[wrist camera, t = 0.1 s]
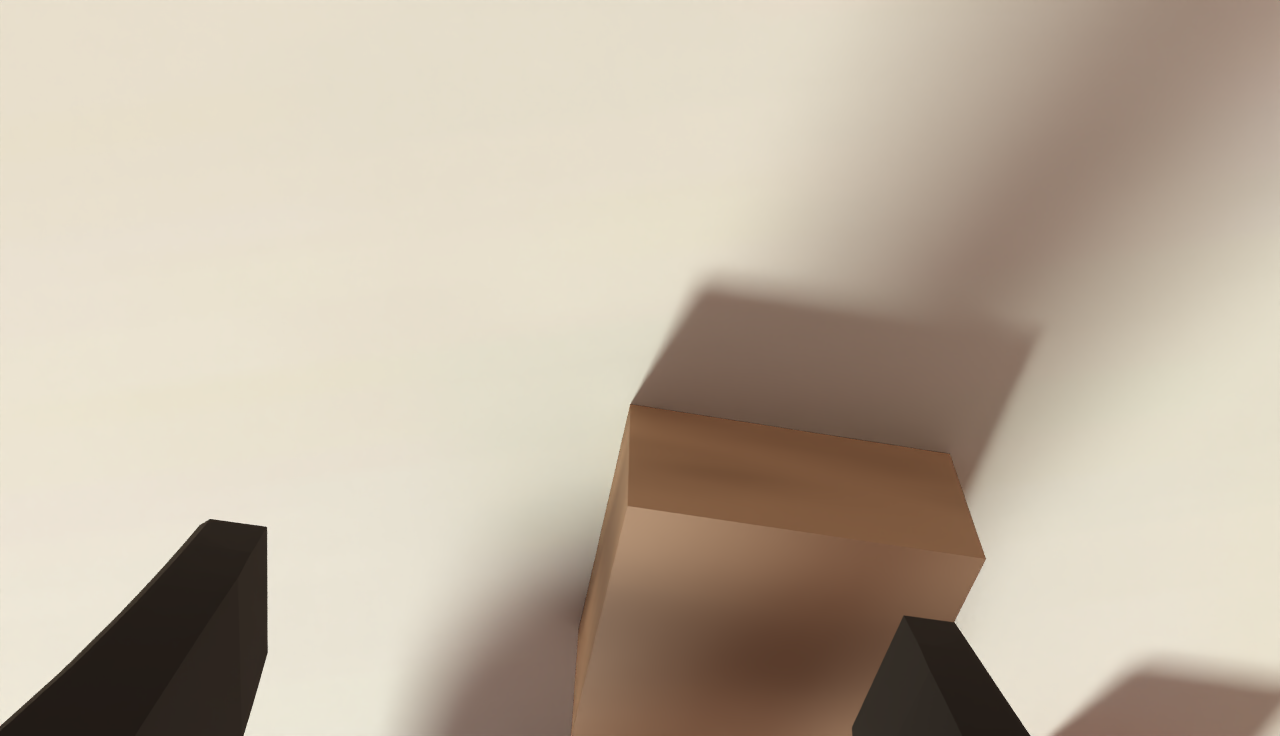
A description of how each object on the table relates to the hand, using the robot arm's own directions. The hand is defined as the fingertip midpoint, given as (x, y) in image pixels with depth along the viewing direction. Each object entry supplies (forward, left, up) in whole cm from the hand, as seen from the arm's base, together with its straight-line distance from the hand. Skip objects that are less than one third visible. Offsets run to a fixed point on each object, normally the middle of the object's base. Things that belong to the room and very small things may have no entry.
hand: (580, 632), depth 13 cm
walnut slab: (-8, -5, -10) cm, 14 cm away
